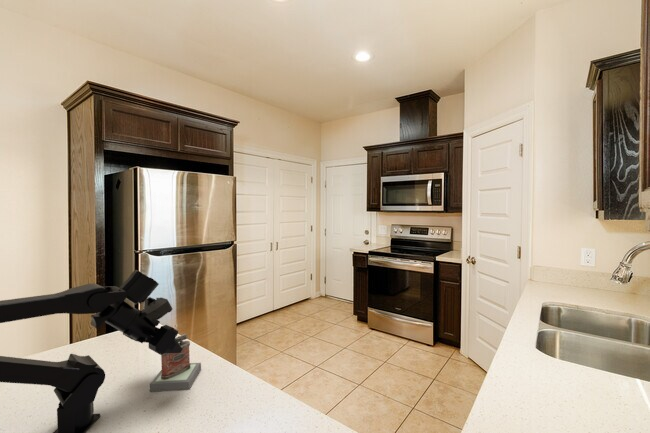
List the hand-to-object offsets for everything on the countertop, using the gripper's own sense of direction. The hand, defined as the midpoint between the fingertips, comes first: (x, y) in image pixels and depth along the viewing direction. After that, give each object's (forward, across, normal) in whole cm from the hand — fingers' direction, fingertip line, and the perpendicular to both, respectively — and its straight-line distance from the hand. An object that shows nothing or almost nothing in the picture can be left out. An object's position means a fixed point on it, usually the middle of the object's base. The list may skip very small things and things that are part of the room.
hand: (171, 346), depth 85 cm
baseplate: (+8, 0, +6) cm, 10 cm away
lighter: (+6, 0, +5) cm, 8 cm away
